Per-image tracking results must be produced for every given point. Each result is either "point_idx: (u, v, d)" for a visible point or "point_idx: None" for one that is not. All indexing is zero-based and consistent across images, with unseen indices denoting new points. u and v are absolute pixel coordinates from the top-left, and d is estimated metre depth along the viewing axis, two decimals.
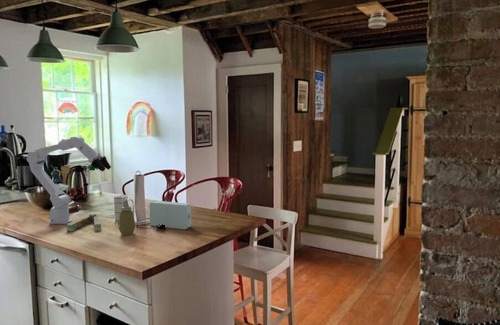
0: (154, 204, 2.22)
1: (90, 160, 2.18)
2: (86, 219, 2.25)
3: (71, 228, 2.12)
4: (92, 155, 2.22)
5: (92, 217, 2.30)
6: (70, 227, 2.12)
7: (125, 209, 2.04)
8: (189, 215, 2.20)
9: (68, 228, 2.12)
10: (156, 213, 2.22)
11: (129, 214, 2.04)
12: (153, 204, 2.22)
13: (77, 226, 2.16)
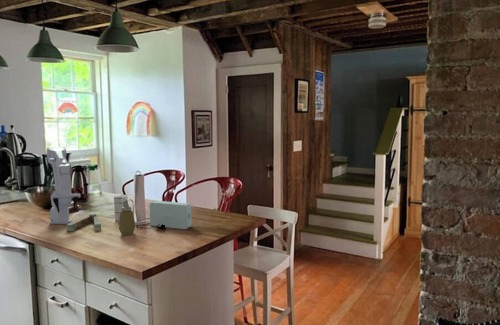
0: (154, 204, 2.22)
1: None
2: (86, 219, 2.25)
3: (71, 228, 2.12)
4: (60, 193, 2.13)
5: (92, 217, 2.30)
6: (70, 227, 2.12)
7: (125, 209, 2.04)
8: (189, 215, 2.20)
9: (68, 228, 2.12)
10: (156, 213, 2.22)
11: (129, 214, 2.04)
12: (153, 204, 2.22)
13: (77, 226, 2.16)
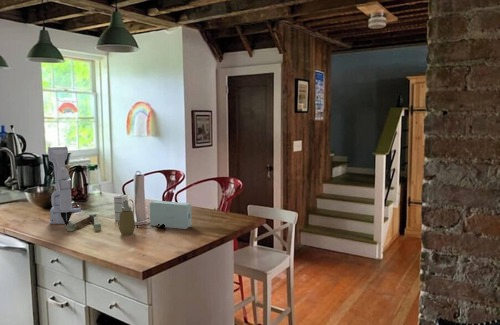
0: (154, 204, 2.22)
1: (51, 212, 2.13)
2: (86, 219, 2.25)
3: (71, 228, 2.12)
4: (60, 207, 2.14)
5: (92, 217, 2.30)
6: (70, 227, 2.12)
7: (125, 209, 2.04)
8: (189, 215, 2.20)
9: (68, 228, 2.12)
10: (156, 213, 2.22)
11: (129, 214, 2.04)
12: (153, 204, 2.22)
13: (77, 226, 2.16)
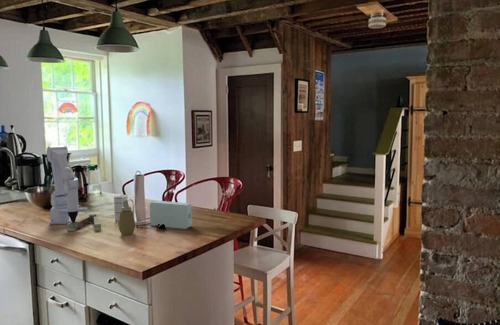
0: (154, 204, 2.22)
1: (58, 211, 2.15)
2: (86, 219, 2.25)
3: (72, 228, 2.12)
4: (67, 207, 2.15)
5: (92, 217, 2.30)
6: (71, 227, 2.12)
7: (125, 209, 2.04)
8: (189, 215, 2.21)
9: (69, 228, 2.12)
10: (156, 213, 2.23)
11: (129, 214, 2.04)
12: (153, 204, 2.23)
13: (78, 226, 2.16)
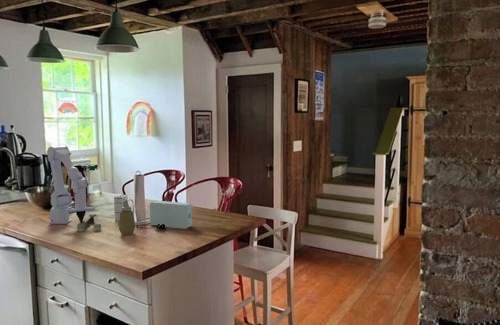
0: (154, 204, 2.22)
1: (66, 211, 2.16)
2: (89, 219, 2.25)
3: (82, 228, 2.12)
4: (75, 206, 2.17)
5: (92, 217, 2.30)
6: (81, 227, 2.11)
7: (125, 209, 2.04)
8: (189, 215, 2.21)
9: (79, 228, 2.11)
10: (156, 213, 2.23)
11: (129, 214, 2.04)
12: (153, 204, 2.23)
13: (85, 226, 2.16)
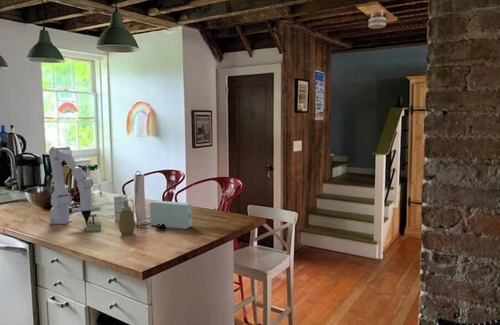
0: (154, 204, 2.22)
1: None
2: None
3: (92, 228, 2.13)
4: (81, 206, 2.18)
5: (92, 217, 2.30)
6: (91, 227, 2.12)
7: (125, 209, 2.04)
8: (190, 215, 2.21)
9: (88, 228, 2.12)
10: (156, 213, 2.23)
11: (129, 214, 2.04)
12: (153, 204, 2.23)
13: None
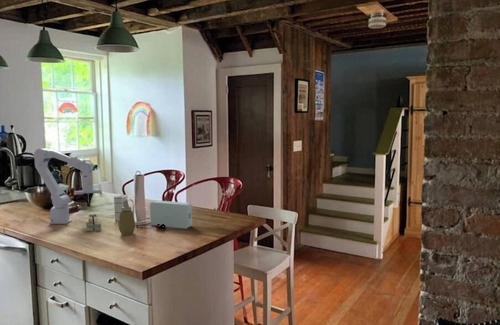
0: (155, 204, 2.23)
1: (74, 193, 2.26)
2: None
3: (92, 228, 2.13)
4: (83, 188, 2.26)
5: (92, 217, 2.30)
6: (91, 227, 2.12)
7: (125, 209, 2.04)
8: (190, 214, 2.21)
9: (88, 228, 2.12)
10: (157, 213, 2.23)
11: (129, 214, 2.04)
12: (154, 204, 2.23)
13: None
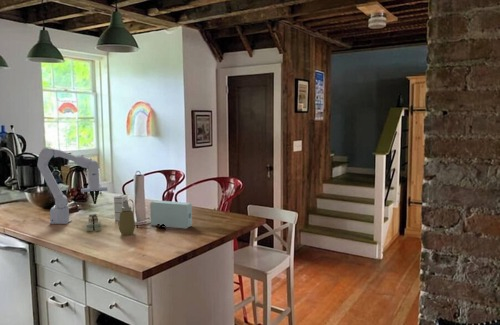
0: (155, 204, 2.23)
1: (81, 190, 2.33)
2: None
3: (92, 228, 2.13)
4: (89, 186, 2.34)
5: (92, 217, 2.30)
6: (91, 227, 2.12)
7: (125, 209, 2.04)
8: (190, 214, 2.21)
9: (88, 228, 2.12)
10: (157, 213, 2.23)
11: (129, 214, 2.04)
12: (154, 204, 2.23)
13: None
